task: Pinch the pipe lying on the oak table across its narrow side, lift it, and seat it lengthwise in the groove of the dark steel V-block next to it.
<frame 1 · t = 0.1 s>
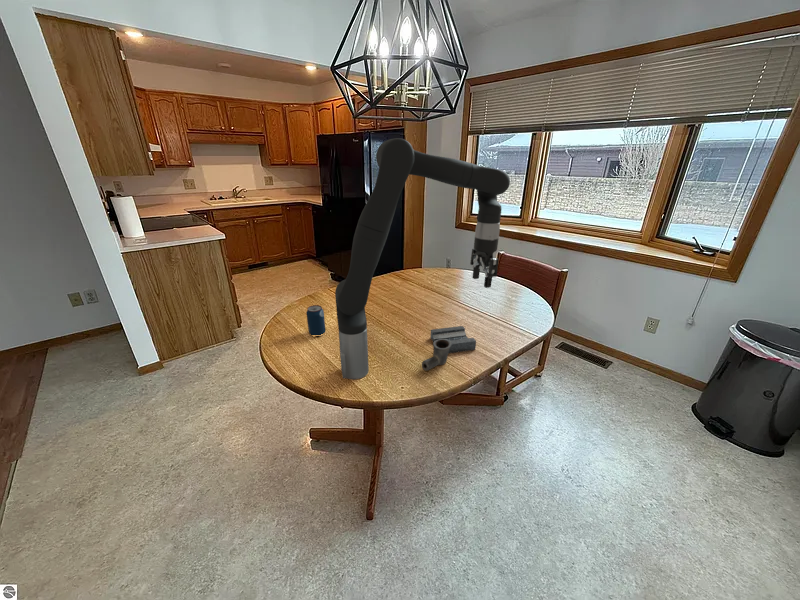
hand: (481, 282, 111), 29 cm above the table, fingers open, 8 cm apart
pipe: (436, 365, 116), on the table
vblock: (452, 343, 130), on the table
soda can: (317, 334, 136), on the table
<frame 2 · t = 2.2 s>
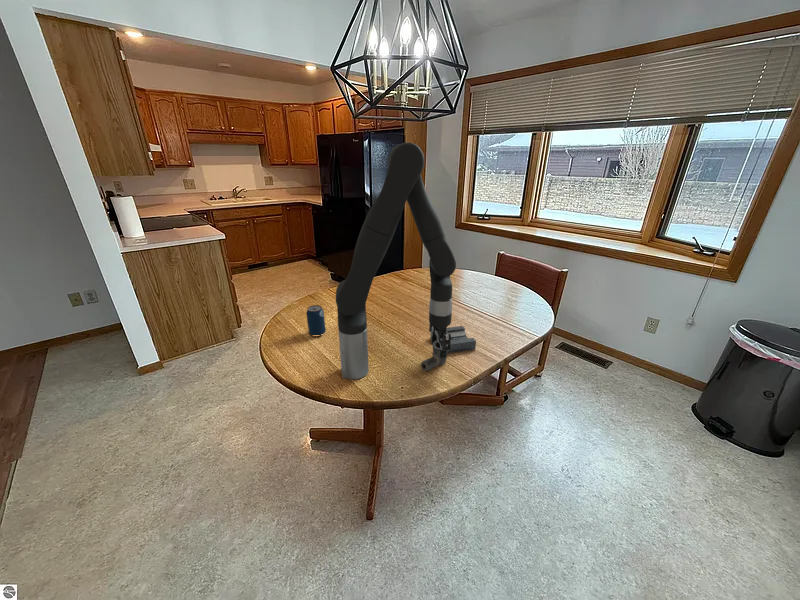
hand: (438, 351, 114), 6 cm above the table, fingers open, 8 cm apart
pipe: (435, 365, 116), on the table, touching gripper
everything else where it was.
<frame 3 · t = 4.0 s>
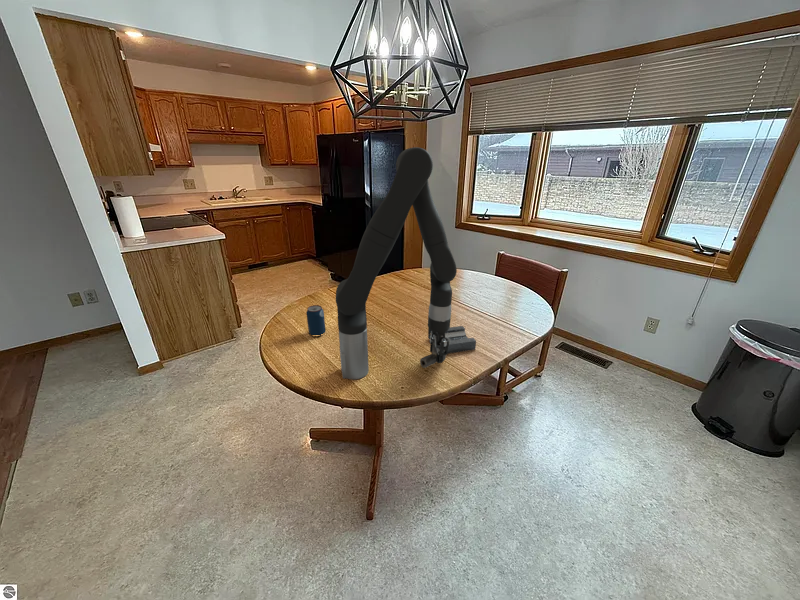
hand: (436, 357, 115), 3 cm above the table, fingers closed on pipe, 6 cm apart
pipe: (435, 362, 115), point 1 cm above the table, touching gripper
everything else where it was.
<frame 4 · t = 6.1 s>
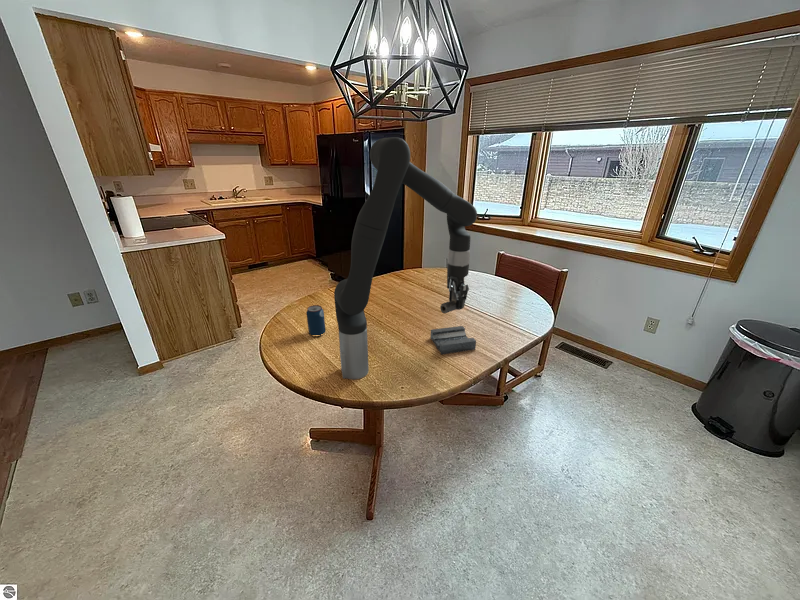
hand: (455, 304, 120), 18 cm above the table, fingers closed on pipe, 6 cm apart
pipe: (454, 310, 120), point 16 cm above the table, touching gripper
everything else where it was.
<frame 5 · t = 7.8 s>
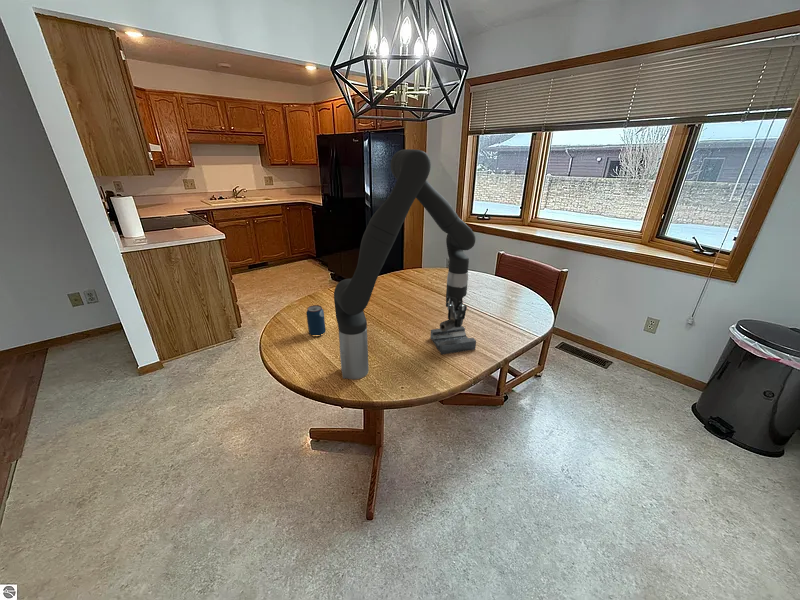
hand: (453, 322, 126), 10 cm above the table, fingers closed on pipe, 6 cm apart
pipe: (453, 328, 126), point 8 cm above the table, touching gripper
everything else where it was.
when the fingers open (6 cm above the table, at t = 9.0 s): pipe drops 2 cm, resting on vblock.
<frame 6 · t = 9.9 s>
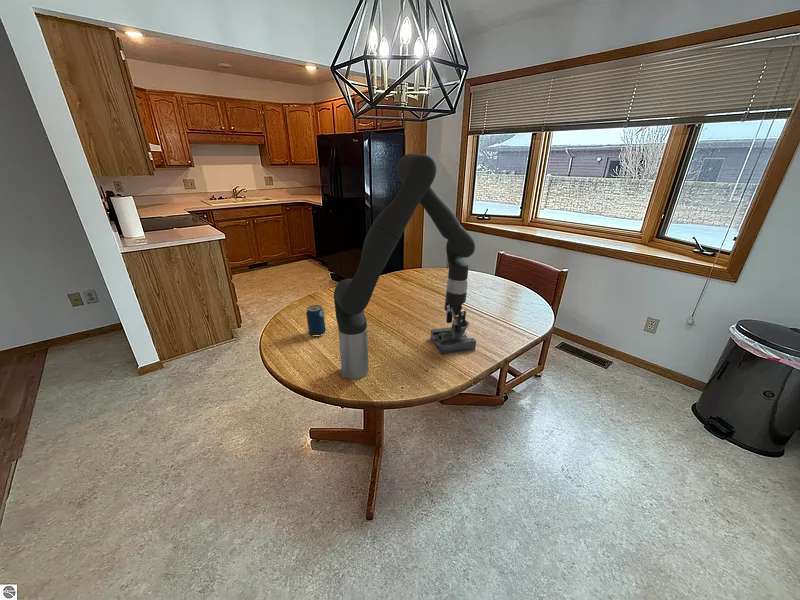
hand: (453, 327, 126), 7 cm above the table, fingers open, 8 cm apart
pipe: (450, 340, 128), point 2 cm above the table, touching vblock
everything else where it was.
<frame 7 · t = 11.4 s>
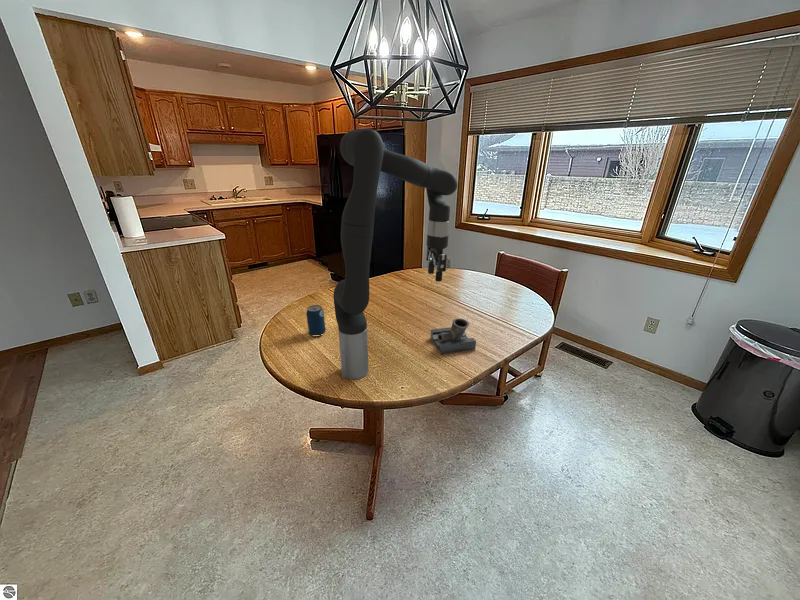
hand: (434, 277, 119), 28 cm above the table, fingers open, 8 cm apart
nothing on the table moved.
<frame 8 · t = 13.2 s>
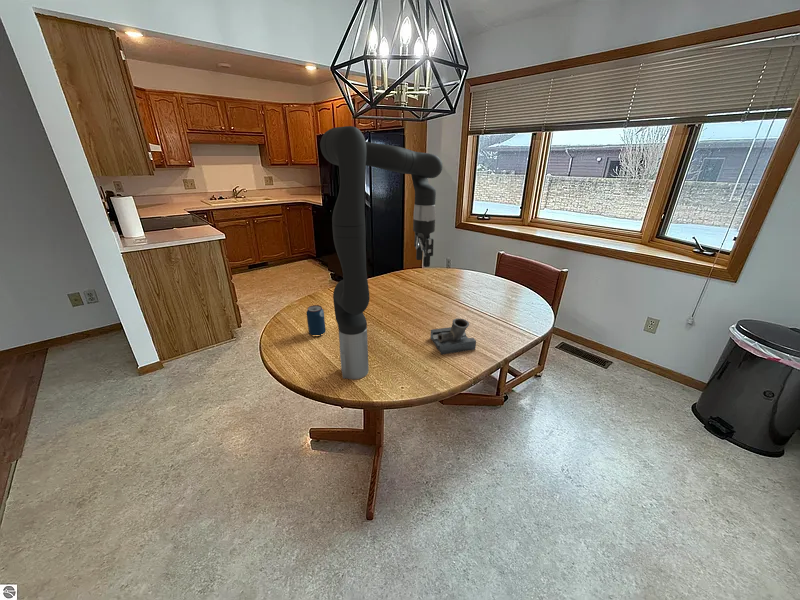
hand: (422, 263, 118), 33 cm above the table, fingers open, 8 cm apart
nothing on the table moved.
at the end: pipe 1.2 cm off-centre on the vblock, point 2.0 cm above the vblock's base; pipe touching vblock; the gripper is holding nothing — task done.
